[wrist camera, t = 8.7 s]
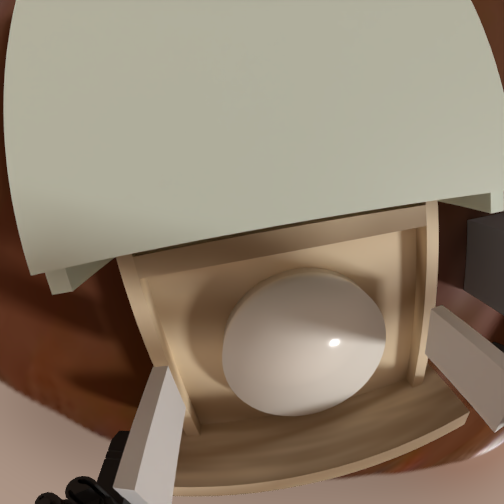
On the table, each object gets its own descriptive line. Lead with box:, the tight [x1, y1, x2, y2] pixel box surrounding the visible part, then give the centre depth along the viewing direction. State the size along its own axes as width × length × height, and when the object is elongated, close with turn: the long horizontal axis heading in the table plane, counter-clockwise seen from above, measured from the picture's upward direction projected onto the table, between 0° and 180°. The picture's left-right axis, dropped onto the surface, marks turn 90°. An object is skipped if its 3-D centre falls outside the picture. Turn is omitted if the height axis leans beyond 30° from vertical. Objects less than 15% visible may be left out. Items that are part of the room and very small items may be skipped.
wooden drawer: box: [116, 200, 470, 496], centre depth 13 cm, size 16×18×6 cm
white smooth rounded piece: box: [222, 267, 386, 416], centre depth 14 cm, size 8×8×2 cm
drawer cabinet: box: [4, 0, 504, 295], centre depth 9 cm, size 15×18×7 cm
